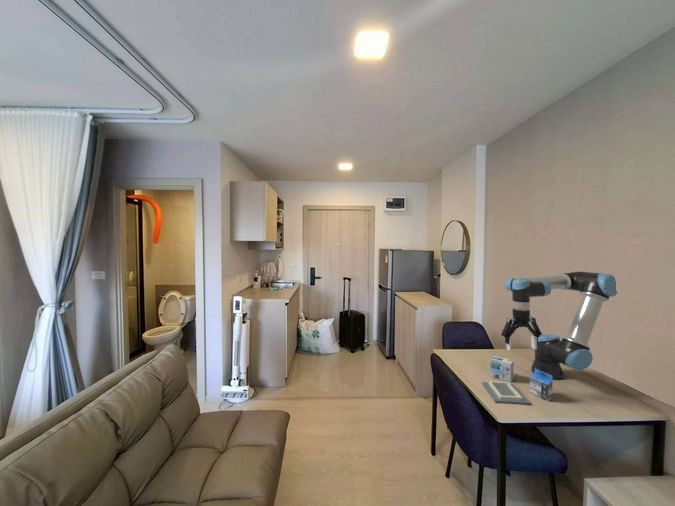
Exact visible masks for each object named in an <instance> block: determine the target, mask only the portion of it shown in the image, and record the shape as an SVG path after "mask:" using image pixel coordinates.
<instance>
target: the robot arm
mask: <svg viewBox="0 0 675 506" xmlns="http://www.w3.org/2000/svg"><path fill="white" fill-rule="evenodd" d="M615 278H616V277H615V276H614V275H613V274H608V273H605V272H591V271H590V272H588V271H572V272H565V273H559V274H556V275H549V276H548V275H547V276H538V277H527V278H514V277H513V278H507V279H506V280H505V283H504V285H505V289H506V290H507V291H510V292H511V293H512V294H511V295H512V300H511V301H512V318H509V317H507V318H506V323H505V325H504V327H503V330H502V331H501V334H500V335H501V336H502V337H503V338H504V343H505V344H506V350H508V351H509V352H512V337H511V336H512V335H513V334H514V333H515V332H516V330H517V329H519V328H527V330H528V331H529V332H530V333H531V334H532V335H531V336H530V337H531V338H530V340H531V341H530V342H531V344H530V345H531V348H532V349H533V350H534V359H533V361H532V365H531V369H530V370H531V372H532V374H534V373H535V368H536V369H538V370H540V371H543V372H545V373H547V374H550V375H552V376H553V377H552V380H556V381H557V380H562V379H564V371H563V368H562V366H561V364H562V365H564V366H566V367H568V368H571V369H574V370H577V371H582V370H585V369H588V368H589V367H590V365H591V364H592V362H593V354H592V352H591V351H590V348H591V347H590V346H589V342H590V341H589V340H590V338H591V335H592V333H593V330H594V327H595V325H596V323H597V322H596V321H597V319H598V317H599V314H600V311H601V309H602V306H603V303H605V302H608V301H609V299H610V297H615V296H616V294H617V295H618V293H617V291H616V281H615ZM557 289H560V290H569V291H576V292H579V294H580V295H581V299H580V302H579V305H578V307H577V310H576V312H575V315H574V318H573V320H572V323H571V325H570V328H569V330H568V333H567V335H566V336H564V337H562V339H561V338H560V336H558V335H557V334H556V335H555V334H549V333H542V332H541V330H540V327H539V325H538V323H537V319H536V318H535V317H532V316H531V310H530V309H531V302H530V301H531V298H533V297H534V298H536V297H537V298H538V297H546V296H549V295H550V294H551V293H552V290H557ZM540 374H542V373H540ZM542 375H544V374H542ZM544 376H546V375H544Z"/></svg>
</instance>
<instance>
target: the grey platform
mask: <svg viewBox="0 0 675 506" xmlns="http://www.w3.org/2000/svg"><path fill="white" fill-rule="evenodd" d="M481 385H482V386H483V388H484V389H485V390H486V392H487V394H488V395H489V396H490V398H491V399H492V400H493V401H494V403H495V404H496V403H497V404H507V403H508V405H525V406H531V405H532V403H531V401H530V400H529V399H528V398H527V397H526V396H525V395H524V394H523V393H522V392H521V391H520V389H518V387H517V386H516V385H515V384H514V383H510V382H507V381H494V380H493V381H492V380H489V381H488V382H484V381H481Z"/></svg>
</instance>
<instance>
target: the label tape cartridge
mask: <svg viewBox="0 0 675 506" xmlns="http://www.w3.org/2000/svg"><path fill="white" fill-rule="evenodd" d="M540 373H542V374H544V375H546V376H544V375H542V374H540ZM552 377H553V376H552V375H550V374H547V373H545V372H543V371H540V370H538V369H536V368H535V373H532V374H531V376H530V377H529V393H530V394H533V395H535V396H536V397H538V398H541V399H542V400H545V401H547V402H551V401H552V400H553V379H552Z"/></svg>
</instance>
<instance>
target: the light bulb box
mask: <svg viewBox="0 0 675 506" xmlns="http://www.w3.org/2000/svg"><path fill="white" fill-rule="evenodd" d="M490 378H493V379H494V378H495V379H498V380H501V381H503V382H509V383H512V381H513V379H514V360H513V359H510V358H505V357H501V356H497V355H492V357H491V358H490Z"/></svg>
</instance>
